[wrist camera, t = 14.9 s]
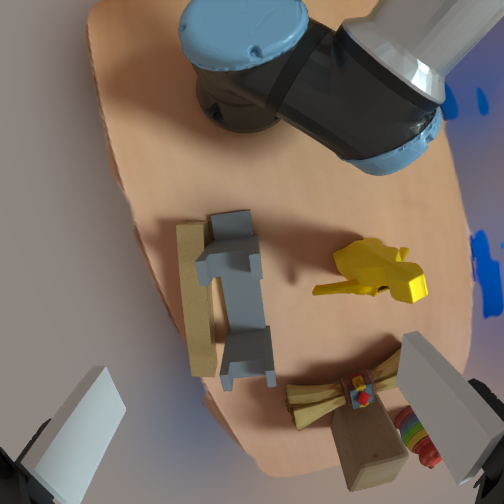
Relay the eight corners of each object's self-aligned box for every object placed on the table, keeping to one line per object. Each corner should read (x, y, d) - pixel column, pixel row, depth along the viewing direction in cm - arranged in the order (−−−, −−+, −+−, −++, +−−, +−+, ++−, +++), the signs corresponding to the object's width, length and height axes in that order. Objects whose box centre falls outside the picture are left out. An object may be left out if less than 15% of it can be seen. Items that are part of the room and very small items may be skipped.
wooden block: (335, 397, 52) (359, 469, 32) (377, 390, 52) (412, 455, 32) (329, 427, 54) (347, 494, 35) (368, 420, 54) (394, 482, 34)
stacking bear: (419, 424, 55) (445, 467, 38) (388, 432, 56) (411, 481, 38) (432, 396, 53) (464, 440, 36) (400, 404, 53) (429, 455, 36)
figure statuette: (312, 297, 47) (351, 375, 25) (296, 255, 45) (331, 313, 24) (402, 256, 45) (482, 301, 24) (390, 214, 44) (477, 238, 22)
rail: (184, 221, 44) (175, 225, 40) (208, 220, 44) (203, 224, 39) (196, 360, 50) (191, 376, 45) (217, 361, 50) (214, 377, 45)
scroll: (291, 408, 53) (296, 442, 43) (279, 376, 51) (283, 411, 41) (409, 364, 51) (430, 391, 41) (408, 330, 49) (432, 355, 39)
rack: (207, 216, 44) (188, 227, 31) (254, 209, 44) (254, 218, 31) (233, 362, 50) (228, 410, 37) (273, 358, 49) (278, 405, 37)
